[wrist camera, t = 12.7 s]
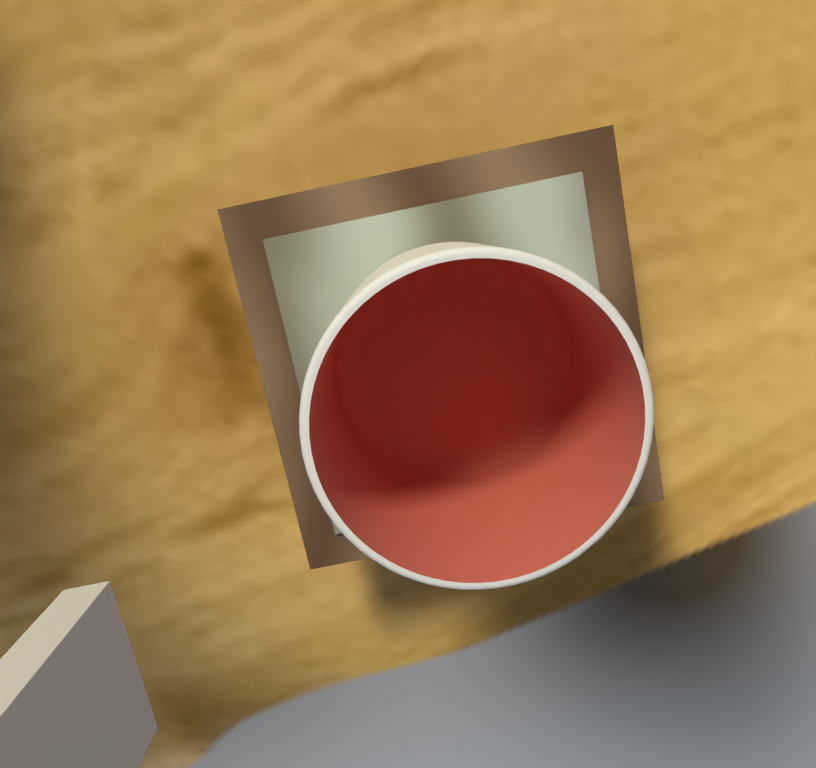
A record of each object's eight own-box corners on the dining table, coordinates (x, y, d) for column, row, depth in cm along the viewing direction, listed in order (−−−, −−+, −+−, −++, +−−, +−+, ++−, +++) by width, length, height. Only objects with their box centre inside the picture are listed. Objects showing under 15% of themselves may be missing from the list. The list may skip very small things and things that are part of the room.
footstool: (326, 508, 39) (309, 571, 32) (253, 213, 35) (216, 209, 28) (616, 451, 38) (665, 501, 31) (571, 145, 35) (614, 124, 28)
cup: (446, 188, 28) (471, 165, 18) (620, 356, 30) (729, 417, 20) (282, 370, 30) (224, 439, 20) (456, 521, 31) (482, 655, 21)
